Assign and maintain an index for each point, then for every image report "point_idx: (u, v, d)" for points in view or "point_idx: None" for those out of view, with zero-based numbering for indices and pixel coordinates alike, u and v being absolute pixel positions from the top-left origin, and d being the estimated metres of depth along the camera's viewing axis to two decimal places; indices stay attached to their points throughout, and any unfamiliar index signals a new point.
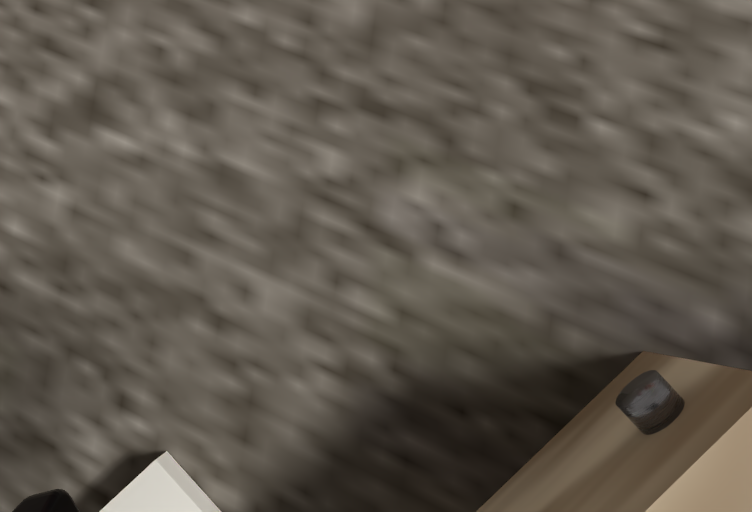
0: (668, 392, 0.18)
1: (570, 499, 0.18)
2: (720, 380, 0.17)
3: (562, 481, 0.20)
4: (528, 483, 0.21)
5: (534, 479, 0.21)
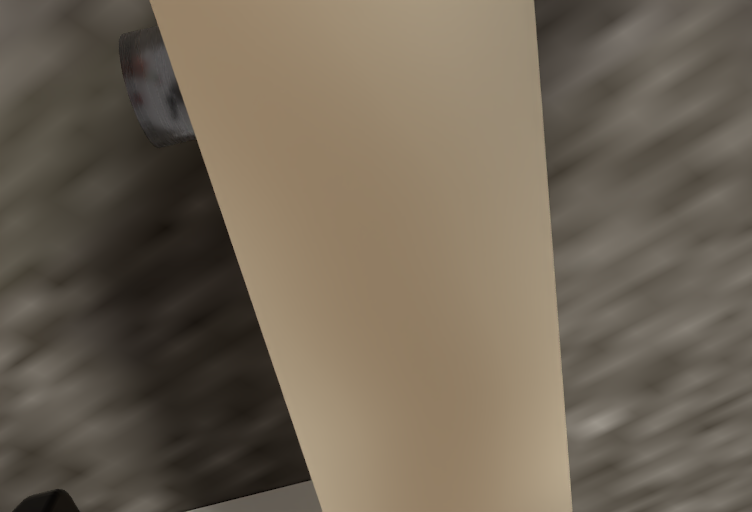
0: (160, 59, 0.08)
1: None
2: None
3: None
4: None
5: None
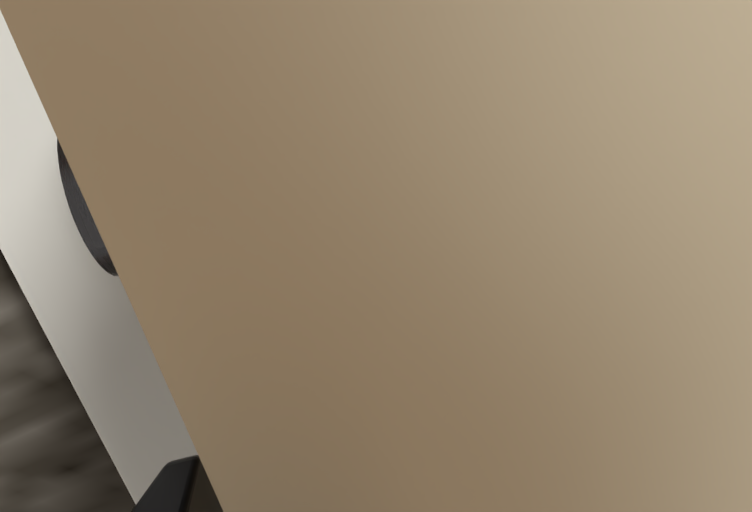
0: None
1: None
2: None
3: None
4: None
5: None
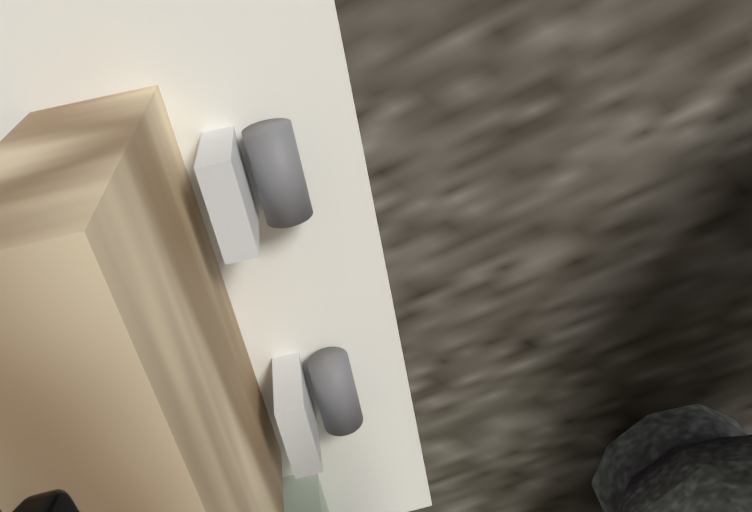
0: None
1: None
2: None
3: None
4: None
5: None
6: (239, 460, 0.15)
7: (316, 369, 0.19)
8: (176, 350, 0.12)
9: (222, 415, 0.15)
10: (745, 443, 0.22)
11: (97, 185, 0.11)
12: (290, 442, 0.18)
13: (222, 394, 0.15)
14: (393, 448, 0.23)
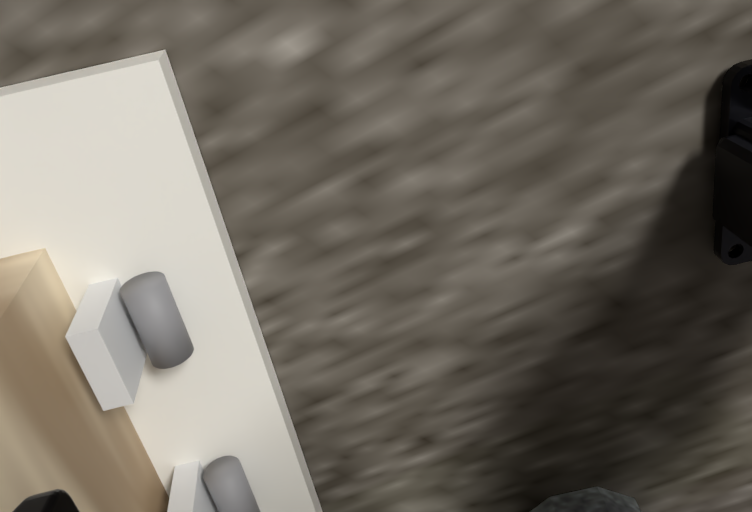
0: None
1: None
2: None
3: None
4: None
5: None
6: None
7: (210, 481, 0.21)
8: None
9: None
10: None
11: None
12: None
13: None
14: None
